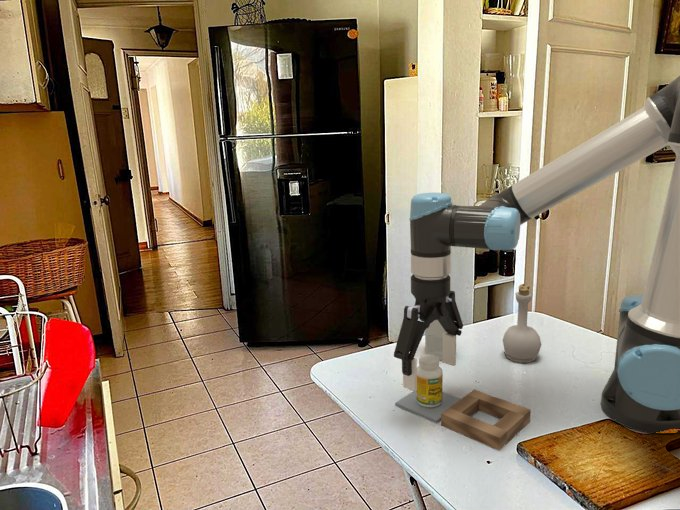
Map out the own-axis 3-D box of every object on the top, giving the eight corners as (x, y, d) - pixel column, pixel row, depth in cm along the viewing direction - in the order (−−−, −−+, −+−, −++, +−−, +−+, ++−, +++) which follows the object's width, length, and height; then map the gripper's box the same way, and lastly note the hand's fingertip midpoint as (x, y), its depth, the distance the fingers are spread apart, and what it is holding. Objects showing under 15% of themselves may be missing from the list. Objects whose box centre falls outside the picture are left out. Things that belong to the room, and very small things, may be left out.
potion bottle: (543, 353, 128) (547, 282, 123) (534, 367, 121) (539, 293, 116) (507, 346, 132) (510, 277, 128) (496, 360, 125) (499, 288, 121)
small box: (426, 346, 134) (426, 298, 131) (451, 347, 133) (452, 298, 130) (424, 360, 127) (424, 309, 123) (451, 361, 125) (452, 310, 122)
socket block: (530, 421, 100) (530, 409, 99) (499, 450, 91) (499, 438, 91) (473, 400, 108) (474, 389, 107) (440, 425, 100) (441, 413, 99)
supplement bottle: (429, 392, 111) (429, 350, 108) (448, 402, 106) (448, 359, 104) (410, 400, 108) (409, 357, 105) (428, 411, 103) (428, 367, 101)
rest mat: (464, 402, 107) (464, 399, 107) (436, 423, 100) (436, 420, 100) (423, 386, 114) (423, 384, 114) (395, 405, 107) (395, 402, 107)
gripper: (449, 257, 111) (448, 350, 117) (372, 287, 94) (376, 393, 100) (481, 263, 106) (478, 359, 112) (406, 295, 89) (407, 407, 94)
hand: (430, 375), depth 106 cm, fingers open, 13 cm apart
